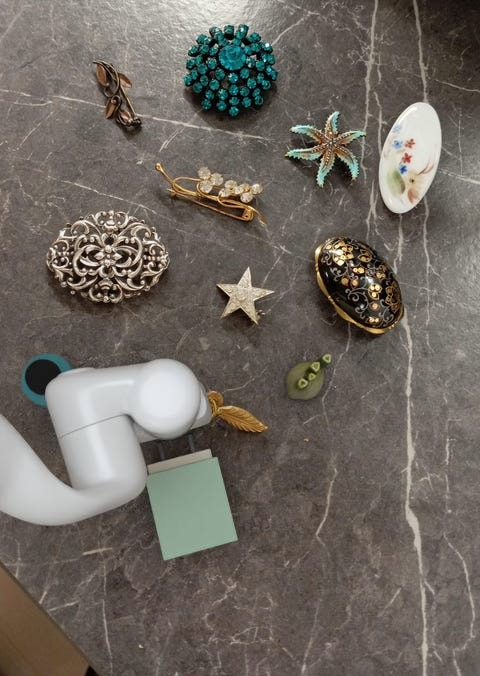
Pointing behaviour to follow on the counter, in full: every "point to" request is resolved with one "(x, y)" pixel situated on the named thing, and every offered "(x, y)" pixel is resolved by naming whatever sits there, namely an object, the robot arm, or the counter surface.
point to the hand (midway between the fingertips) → (168, 416)
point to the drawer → (179, 460)
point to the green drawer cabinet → (190, 508)
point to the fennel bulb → (306, 378)
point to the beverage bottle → (42, 376)
